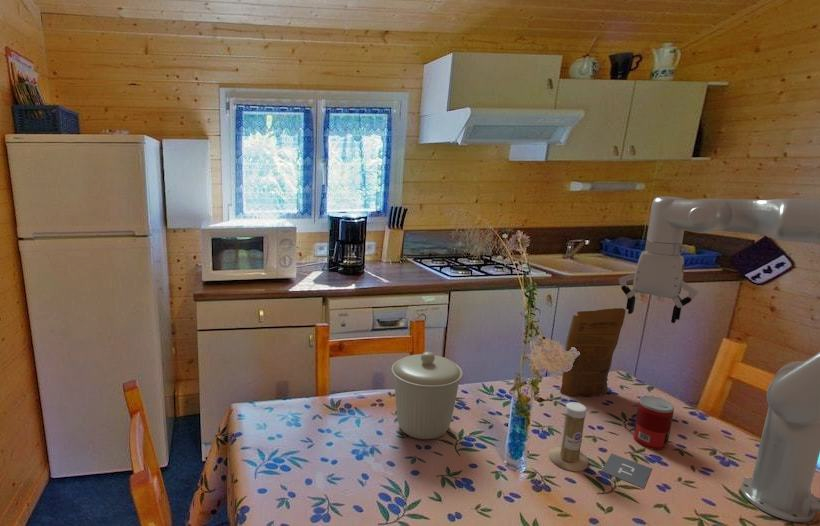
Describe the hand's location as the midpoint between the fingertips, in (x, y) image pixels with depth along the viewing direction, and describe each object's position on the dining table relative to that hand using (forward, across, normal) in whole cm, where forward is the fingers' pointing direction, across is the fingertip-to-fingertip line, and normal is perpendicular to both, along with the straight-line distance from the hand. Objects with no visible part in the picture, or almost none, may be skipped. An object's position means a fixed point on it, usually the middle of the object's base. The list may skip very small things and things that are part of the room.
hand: (651, 317), depth 115 cm
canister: (+34, +44, +32) cm, 64 cm away
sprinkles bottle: (+33, +10, +20) cm, 40 cm away
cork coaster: (+33, +10, +20) cm, 40 cm away
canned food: (+34, -4, -2) cm, 34 cm away
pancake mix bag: (+34, +17, -18) cm, 42 cm away
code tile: (+33, -2, +15) cm, 37 cm away
